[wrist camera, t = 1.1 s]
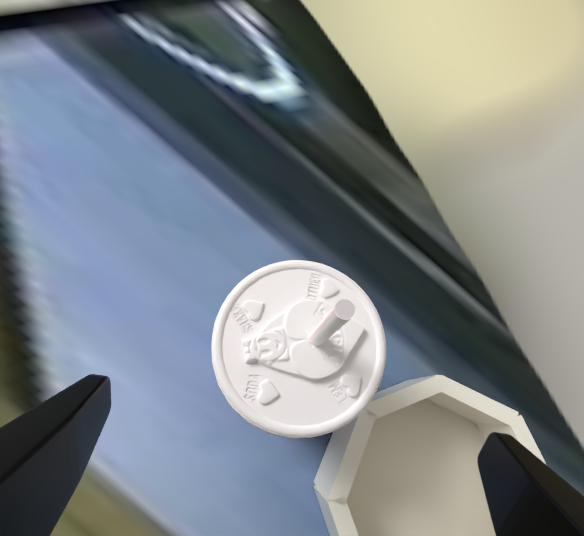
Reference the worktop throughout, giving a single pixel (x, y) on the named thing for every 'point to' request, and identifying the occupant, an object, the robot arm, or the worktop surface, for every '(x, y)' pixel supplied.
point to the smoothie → (298, 349)
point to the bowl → (414, 462)
